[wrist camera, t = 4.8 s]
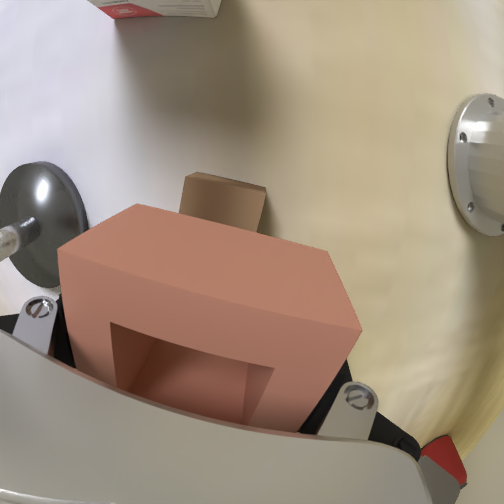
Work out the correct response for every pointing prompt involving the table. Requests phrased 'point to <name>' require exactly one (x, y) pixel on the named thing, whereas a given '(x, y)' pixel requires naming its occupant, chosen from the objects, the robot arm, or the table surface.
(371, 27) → the table surface
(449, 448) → the beer can
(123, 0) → the ink cartridge box
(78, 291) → the collar
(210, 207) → the stand
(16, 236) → the hub
